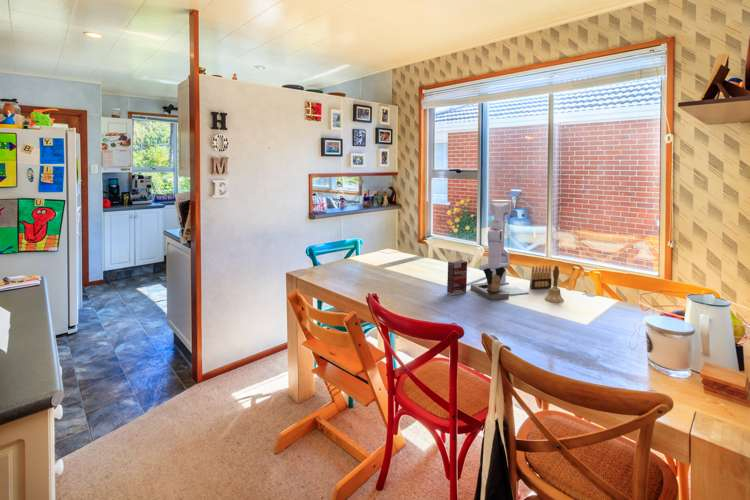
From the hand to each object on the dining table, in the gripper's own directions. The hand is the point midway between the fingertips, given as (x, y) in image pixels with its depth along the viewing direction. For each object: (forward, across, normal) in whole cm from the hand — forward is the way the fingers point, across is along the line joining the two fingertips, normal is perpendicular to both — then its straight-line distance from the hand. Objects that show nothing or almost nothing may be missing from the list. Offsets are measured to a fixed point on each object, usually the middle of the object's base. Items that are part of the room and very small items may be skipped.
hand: (493, 283), depth 199 cm
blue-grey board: (+6, +13, +3) cm, 15 cm away
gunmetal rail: (+6, 0, +4) cm, 7 cm away
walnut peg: (+3, 0, 0) cm, 3 cm away
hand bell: (+6, +23, -14) cm, 28 cm away
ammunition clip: (+6, +29, +4) cm, 30 cm away
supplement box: (+6, -14, +10) cm, 18 cm away
